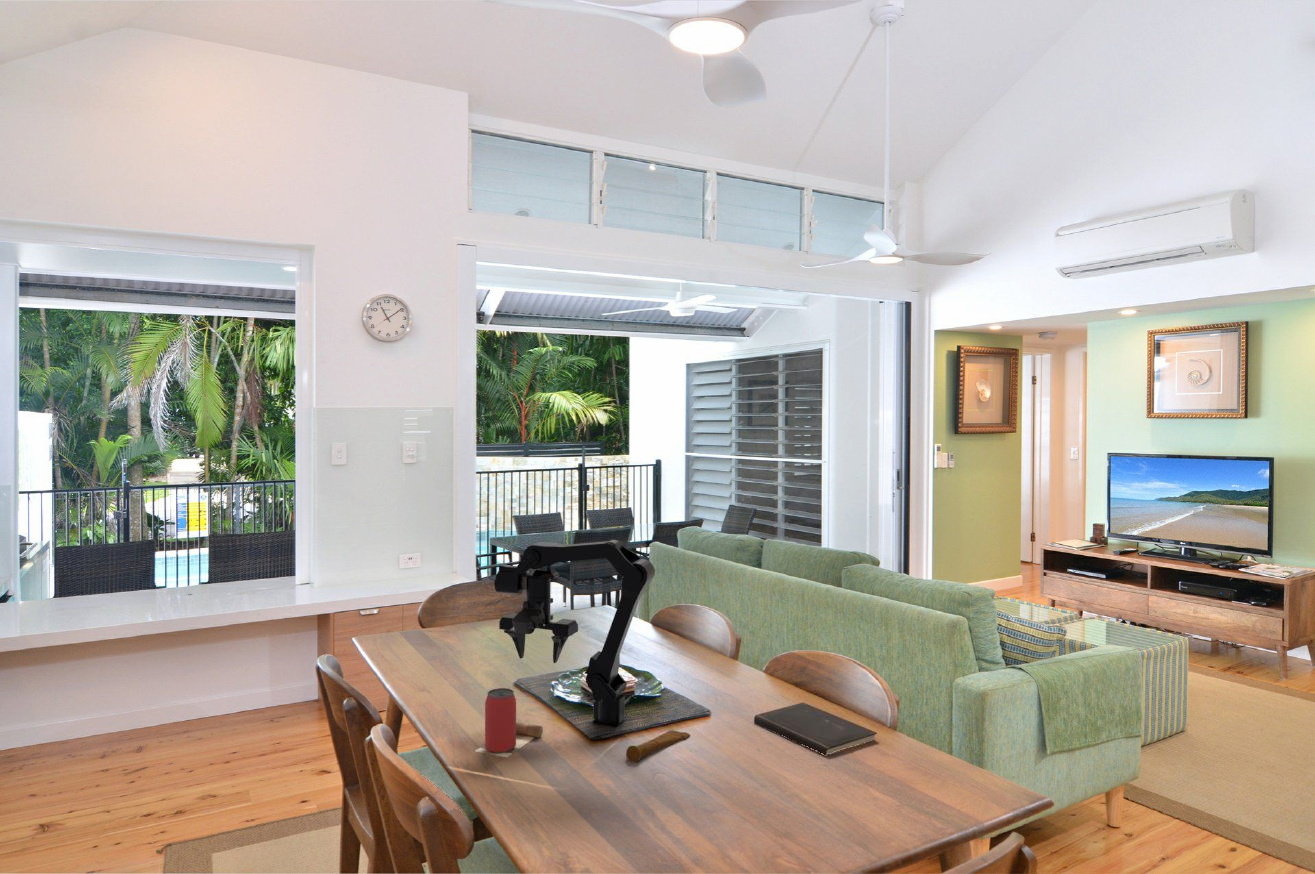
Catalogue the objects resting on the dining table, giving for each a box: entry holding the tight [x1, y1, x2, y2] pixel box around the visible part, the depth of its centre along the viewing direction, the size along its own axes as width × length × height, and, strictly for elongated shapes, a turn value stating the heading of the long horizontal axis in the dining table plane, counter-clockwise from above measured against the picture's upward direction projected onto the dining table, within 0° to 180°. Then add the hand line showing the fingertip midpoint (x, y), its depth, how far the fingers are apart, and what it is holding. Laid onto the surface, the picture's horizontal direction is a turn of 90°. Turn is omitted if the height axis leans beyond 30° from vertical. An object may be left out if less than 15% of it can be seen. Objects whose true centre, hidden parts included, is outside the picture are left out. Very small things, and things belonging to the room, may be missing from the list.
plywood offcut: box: [474, 734, 536, 758], centre depth 179 cm, size 8×15×1 cm, turn 158°
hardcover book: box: [753, 702, 877, 756], centre depth 187 cm, size 16×23×2 cm
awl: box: [516, 721, 544, 738], centre depth 184 cm, size 12×2×2 cm, turn 68°
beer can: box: [484, 687, 517, 753], centre depth 175 cm, size 7×7×12 cm
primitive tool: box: [625, 729, 691, 763], centre depth 178 cm, size 19×6×4 cm, turn 148°
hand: (538, 660), depth 196 cm, fingers open, 9 cm apart
